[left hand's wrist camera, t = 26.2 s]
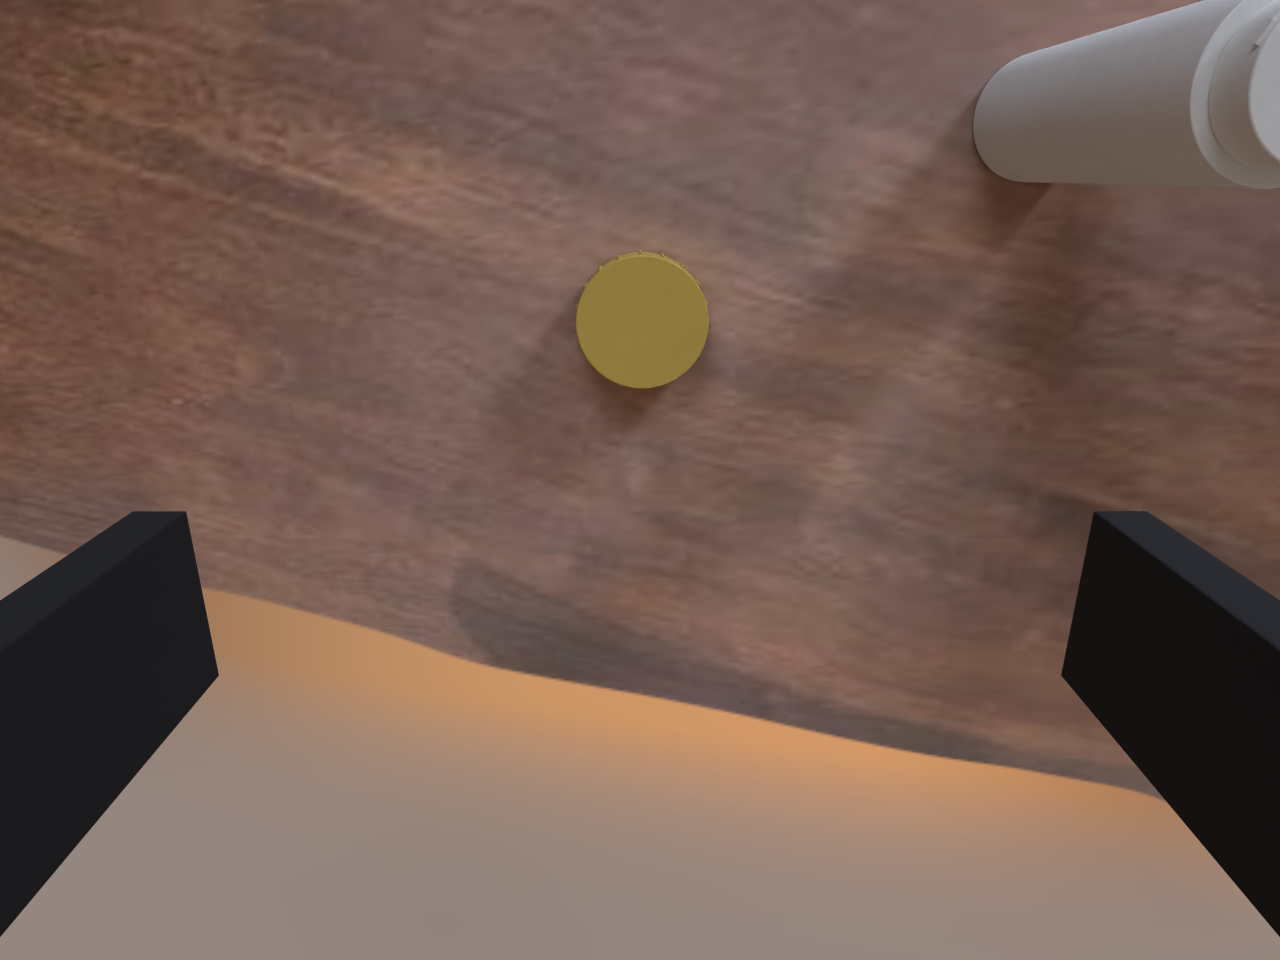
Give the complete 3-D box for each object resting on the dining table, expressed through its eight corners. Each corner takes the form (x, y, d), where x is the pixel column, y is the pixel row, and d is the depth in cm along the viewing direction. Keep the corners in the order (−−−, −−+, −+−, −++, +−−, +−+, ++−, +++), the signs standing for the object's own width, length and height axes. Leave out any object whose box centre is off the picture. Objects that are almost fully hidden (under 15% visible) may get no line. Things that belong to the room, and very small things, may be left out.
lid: (550, 307, 38) (545, 314, 36) (651, 221, 36) (652, 223, 35) (633, 405, 39) (632, 416, 38) (733, 326, 38) (737, 332, 36)
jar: (1118, 89, 35) (1500, 25, 19) (1046, 203, 36) (1345, 226, 21) (1019, 28, 34) (1334, -92, 18) (949, 146, 35) (1186, 127, 20)
